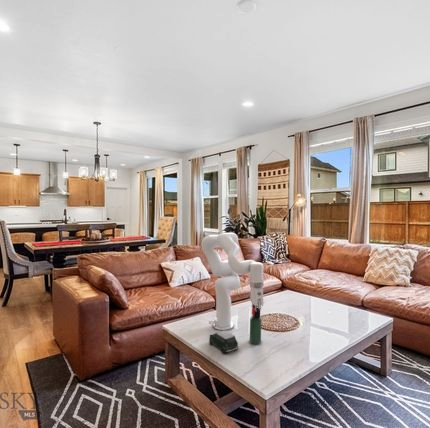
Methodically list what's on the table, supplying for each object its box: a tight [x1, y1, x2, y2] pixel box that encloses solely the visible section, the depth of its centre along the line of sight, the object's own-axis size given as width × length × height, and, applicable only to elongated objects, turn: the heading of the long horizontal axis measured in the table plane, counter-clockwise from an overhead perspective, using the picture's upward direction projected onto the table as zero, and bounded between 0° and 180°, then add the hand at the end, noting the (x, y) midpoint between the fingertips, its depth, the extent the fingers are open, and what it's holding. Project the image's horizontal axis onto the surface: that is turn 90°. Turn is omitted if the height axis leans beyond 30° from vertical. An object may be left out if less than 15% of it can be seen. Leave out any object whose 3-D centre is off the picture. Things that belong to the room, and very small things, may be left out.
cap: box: [251, 307, 255, 316], centre depth 168 cm, size 4×4×4 cm
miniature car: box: [208, 330, 240, 354], centre depth 163 cm, size 9×18×8 cm, turn 39°
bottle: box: [249, 315, 262, 345], centre depth 168 cm, size 6×6×18 cm
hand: (255, 316), depth 168 cm, fingers closed on cap, 3 cm apart
